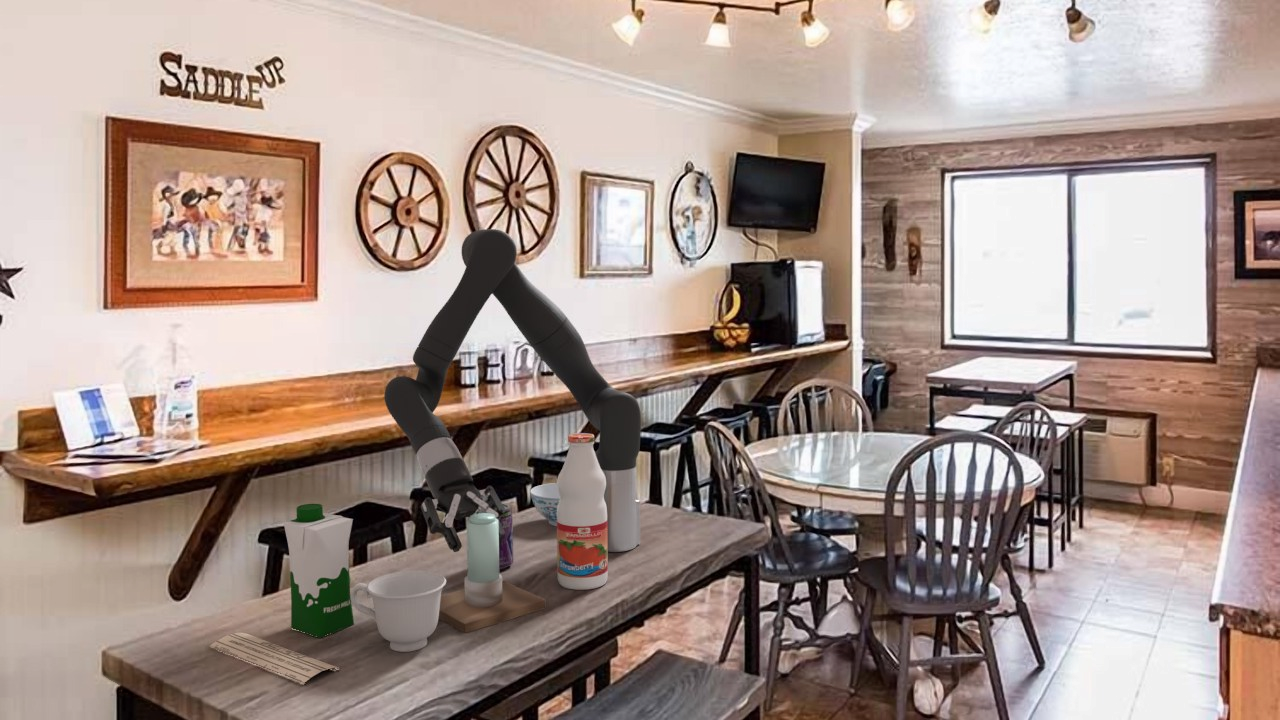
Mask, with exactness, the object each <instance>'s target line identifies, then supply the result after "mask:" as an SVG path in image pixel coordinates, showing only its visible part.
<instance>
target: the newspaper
mask: <svg viewBox="0 0 1280 720" xmlns="http://www.w3.org/2000/svg"><path fill="white" fill-rule="evenodd" d="M209 647H212V648H214V649H217V650H219V651H222V652H224V653H226V654H230V655H233V656H235V657H238V658H240V659H243V660H245V661H248V662H251V663H253V664H256V665H259V666H261V667H263V668H267V669H269V670H272V671H275V672H277V673H280V674H283V675H285V676H288V677H290V678H293V679H295V680H297V681H300V682H302V683H305V682H306V683H307V682H308V681H309V680H310V679H311V678H313V677H314V676H316V675H318V674H319V673H321V672H323V671H327V670H328V669H332V670H336V669H335V668H337V669H339V670H340V667H338V666H335V665H332V664H329V663H327V662H324V661H321V660H319V659H316V658H315V657H314V658H313V657H311V656H308V655H305V654H302V653H300V652H297V651H294V650H291V649H289V648H285V647H284V646H281V645H278V644H276V643H272V642H270V641H268V640H264V639H262V638H259V637H256V636H254V635H251V634H250V633H245V632H235V633H232V634H227V635H225V636H223V637H221V638H219V639H217V640H216V641H214V642H213V643H212V644H210V646H209ZM214 649H213V650H214ZM219 651H218V652H219ZM224 653H223V654H224ZM226 654H225V655H226ZM306 683H305V684H306Z"/></svg>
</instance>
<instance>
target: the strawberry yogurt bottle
mask: <svg viewBox="0 0 1280 720" xmlns="http://www.w3.org/2000/svg"><path fill="white" fill-rule="evenodd" d="M567 442H568V443H567V444H568V445H569V447H568V452H567V454H566V457H565V461H564V464H563V466H562V469H561V470H560V472H559V473H558V476H557V480H556V481H557V482H556V483H557V487H558V491H559V495H560V501H559V503H558V506H557V526H556V541H557V542H556V549H557V550H556V552H557V553H556V554H557V555H556V556H557V560H556V561H557V566H556V567H557V580H558V584H559V585H560V586H561V587H563V588H566V589H568V590H569V589H570V590H575V591H576V590H577V591H578V590H579V591H581V590H585V591H586V590H592V589H598V588H600V587H602V586H605V584H606V583H607V581H608V576H609V575H608V571H609V570H608V569H609V566H608V565H609V563H608V561H609V560H608V556H609V554H608V551H607V506H606V503H605V500H604V492H605V489H606V477H605V474H604V473H603V471H602V469H601V468H600V465H599V463H598V460H597V457H596V454H595V450H594V444H595V435H594V434H593V433H588V432H587V433H586V432H578V433H577V432H576V433H571V434H569V435H568V436H567Z"/></svg>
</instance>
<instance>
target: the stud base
mask: <svg viewBox="0 0 1280 720" xmlns="http://www.w3.org/2000/svg"><path fill="white" fill-rule="evenodd" d="M544 609H546V599H545V598H542V597H541V596H538V595H536V594H533V593H531V592H529V591H527V590H524V589H522V588H520V587H517V586H515V585H513V584H511V583H509V582H507V581H504V580H503V576H502V574H500V573H499V579H497V580H496V581H493V582H488V583H474V582H471V581H469V580H468V575H466V576H465V577H464V589H461V590H458V591H453V592H451V593H446V594H441V598H440V609H439V617H438V620H441V621H443V622H445V623H446V624H448V625H450V626H452V627H454V628H455V629H458V630H459V631H461V632H462V633H464V634H465V633H469V632H472V631H476V630H479V629H483V628H486V627H490V626H492V625H495V624H498V623H501V622H505V621H508V620H512V619H515V618H517V617H522V616H524V615H528V614H532V613H535V612H537V611H541V610H544Z"/></svg>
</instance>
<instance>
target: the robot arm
mask: <svg viewBox="0 0 1280 720" xmlns="http://www.w3.org/2000/svg"><path fill="white" fill-rule="evenodd" d="M517 251H518V250H517V245H516V243H515V241H514V239H513V238H512V237H511V236H510V234H508V233H507V232H505V231H503V230H499V229H494V228H488V229H484V228H483V229H478V230H475V231H473V232H471V233H469V234H467V236H466V237H465V239H463V242H462V245H461V258H462V261H463V263H464V265H465V270H464V272H463V274H462V276H461V279H460V281H459V282H458V284H457V286H456V287H455V289H454V291H453V293H452V294H451V296H450V297H449V298H448V300H447V301H446V303H444V305H443V306H442V307H441V308H440V309H439V311H438V312H437V314H436V315H435V316H434V318H433V319H432V320H431V322H430V324H429V326H428V327H427V329H426V330H425V332H424V334H423V336H422V337H421V339H420V342H419V343H418V345H417V347H416V349H415V350H414V352H413V355H412V361H413V363H414V364H415V365H416V366H417V368H418V370H417V375H416V378H415V379H414V378H412V377H411V376H410V377H409V376H405V375H404V376H403V375H400V376H396V377H394V378H392V379H390V381H388V383H387V384H386V386H385V389H384V397H383V399H384V404H385V406H386V408H387V410H388V412H389V414H390V415H391V417H392V419H393V420H394V421H395V422H396V425H398V427H399V428H400V429H401V431H402V432H403V433H404V435H406V437H407V438H408V441H409V443H410V446H411V448H412V450H413V452H414V454H415V456H416V458H417V462H418V466H419V468H420V471H421V473H422V475H423V478H424V479H425V481H426V484H427V486H428V488H429V490H430V492H431V495H432V497H433V498H434V499H433V498H431V497H430V496H427V497H425V499H424V501H423V502H422V503H421V505H420V508H421V512H422V515H423V518H424V520H425V523H426V525H427V528H428V531H429V533H431V534H432V535H435V534H436V533H437V534H441V535H442V536H443V538H444V539H445V542H446V544H447V546H448V548H449V549H450V550H452V551H453V552H454V553H457V552H459V551H460V550H461V548H462V547H463V546H462V541H461V539H460V537H459V536H458V534H457V531H456V529H455V527H453V523H454V519H455V520H456V521H457V520H461V519H463V518H469V517H470V516H471V515H474V514H479V513H490V514H494V515H495V518H496V519H498V525H499V542H500V541H501V540H502V539H503V538H504V534H505V531H504V529H503V527H502V525H501V523H500V521H499V519H500V518H501V516H502V515H503V514H504V512H505V508H504V506H503V505H502V504H503V503H502V501H501V499H500V498H499V496H498V494H497V493H496V490H495V489H494V487H493V486H492V485H487V487H486V488H484V489H477V488H476V486H475V484H474V479H473V476H472V475H471V472H470V471H469V468H468V466H467V464H466V463H465V460H464V458H463V456H462V455H461V452H460V451H459V448H458V447H457V445H456V444H455V442H454V441H453V438H452V437H451V435H450V432H449V431H448V428H447V427H446V425H445V423H444V422H443V421H442V419H441V418H440V417H439V416H437V415H436V414H434V411H436V408H437V407H438V406H439V403H440V400H441V397H442V394H443V389H444V385H445V382H446V377H447V373H448V370H449V368H450V366H451V365H452V363H453V361H454V359H455V357H456V356H457V353H458V351H459V349H460V348H461V346H462V344H463V342H464V340H465V338H466V336H467V335H468V333H469V331H470V329H471V327H472V325H473V324H474V323H475V320H476V319H477V317H478V315H479V314H480V312H481V310H482V309H483V307H484V305H485V304H486V303H487V301H488V300H489V298H490V297H491V295H493V296H494V297H495V298H496V300H497V301H498V302H499V303H500V305H501V306H502V307H503V309H504V310H505V312H506V313H507V314H508V316H509V318H510V319H511V321H512V322H513V323H514V325H515V326H516V327H517V329H518V330H519V331H520V333H521V334H522V336H523V337H524V339H525V340H526V342H528V344H529V345H530V346H531V347H532V349H533V350H534V352H535V353H536V354H537V355H538V356H539V358H540V359H541V360H542V362H544V363H545V365H546V366H547V367H548V368H549V369H550V370H551V372H552V373H553V374H554V375H555V376H556V377H557V378H558V380H560V381H561V382H562V384H564V386H565V387H566V388H567V389H568V390H569V392H570V393H571V395H572V396H573V398H574V399H575V401H576V403H577V404H578V406H579V407H580V409H581V411H582V412H583V413H584V416H585V417H586V418H587V420H588V422H589V423H590V424H591V425H592V427H594V428H595V429H596V430H597V431H599V445H598V449H596V451H595V450H594V451H595V454H596V457H597V460H598V463H599V465H600V468H601V469H602V471H603V473H604V474H605V477H606V489H605V492H604V500H605V503H606V506H607V552H610V553H611V552H613V553H616V552H617V553H619V552H626V551H630V550H634V549H635V548H636V547H637V546H638V544H639V545H640V544H641V501H640V500H639V499H637V458H638V456H639V454H640V447H641V430H642V429H641V427H642V423H641V422H642V418H641V415H642V414H641V409H640V405H639V402H638V401H637V399H636V397H634V396H633V395H631V394H630V393H628V392H624V391H623V390H622V391H621V390H617V389H615V388H613V386H612V385H610V383H608V381H607V380H606V379H605V378H604V377H603V376H602V375H601V374H600V372H599V371H598V370H597V369H596V367H595V366H594V364H593V362H592V360H591V358H590V355H589V354H588V353H589V352H588V351H587V348H586V345H585V342H584V341H583V339H582V337H581V335H580V333H579V332H578V330H577V328H576V327H575V325H573V323H572V322H571V321H570V319H569V318H568V317H567V316H566V314H565V313H564V312H563V311H562V310H561V308H560V307H559V306H558V305H557V304H555V302H553V301H552V300H551V299H550V298H549V297H548V296H547V295H546V294H544V293H543V292H542V291H541V290H540V289H538V288H537V287H536V286H535V285H534V284H532V282H531V281H530V280H529V279H528V278H527V277H526V276H525V274H524V273H523V272H522V270H521V269H520V267H519V266H518V264H517V263H516V260H517V254H518V252H517ZM478 507H480V508H481V511H479V510H478ZM437 509H439V510H441V511H442V512H443V513H444V516H443V519H442V522H441V519H440V517H439V514H438V512H437V511H438V510H437Z"/></svg>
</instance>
